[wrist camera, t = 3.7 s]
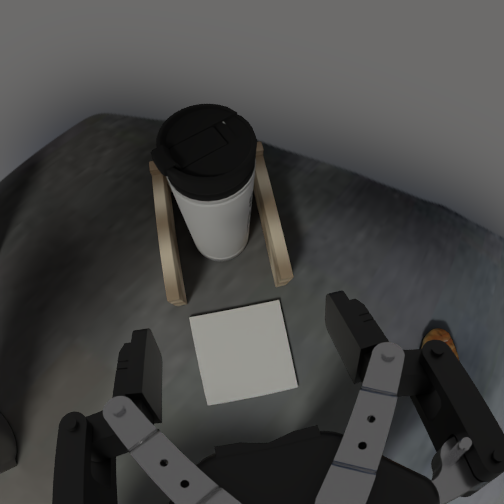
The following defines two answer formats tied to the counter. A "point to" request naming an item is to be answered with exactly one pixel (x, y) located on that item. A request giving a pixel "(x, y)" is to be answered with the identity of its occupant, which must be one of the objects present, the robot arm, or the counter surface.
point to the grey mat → (243, 352)
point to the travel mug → (210, 175)
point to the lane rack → (169, 238)
